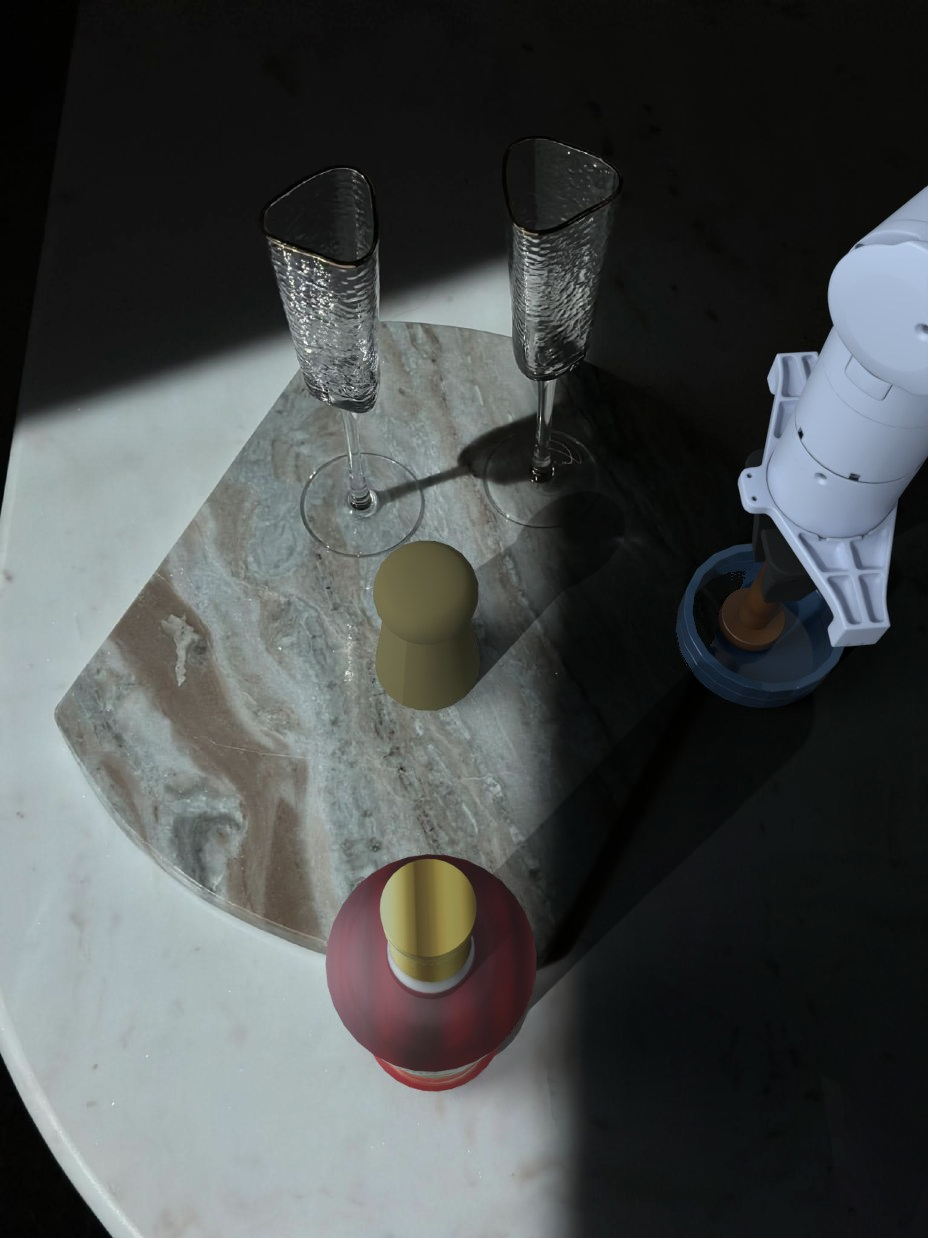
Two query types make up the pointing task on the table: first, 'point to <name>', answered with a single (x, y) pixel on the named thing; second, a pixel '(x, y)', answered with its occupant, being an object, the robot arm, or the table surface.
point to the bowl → (768, 672)
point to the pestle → (751, 618)
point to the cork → (426, 625)
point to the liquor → (431, 968)
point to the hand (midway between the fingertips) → (776, 575)
